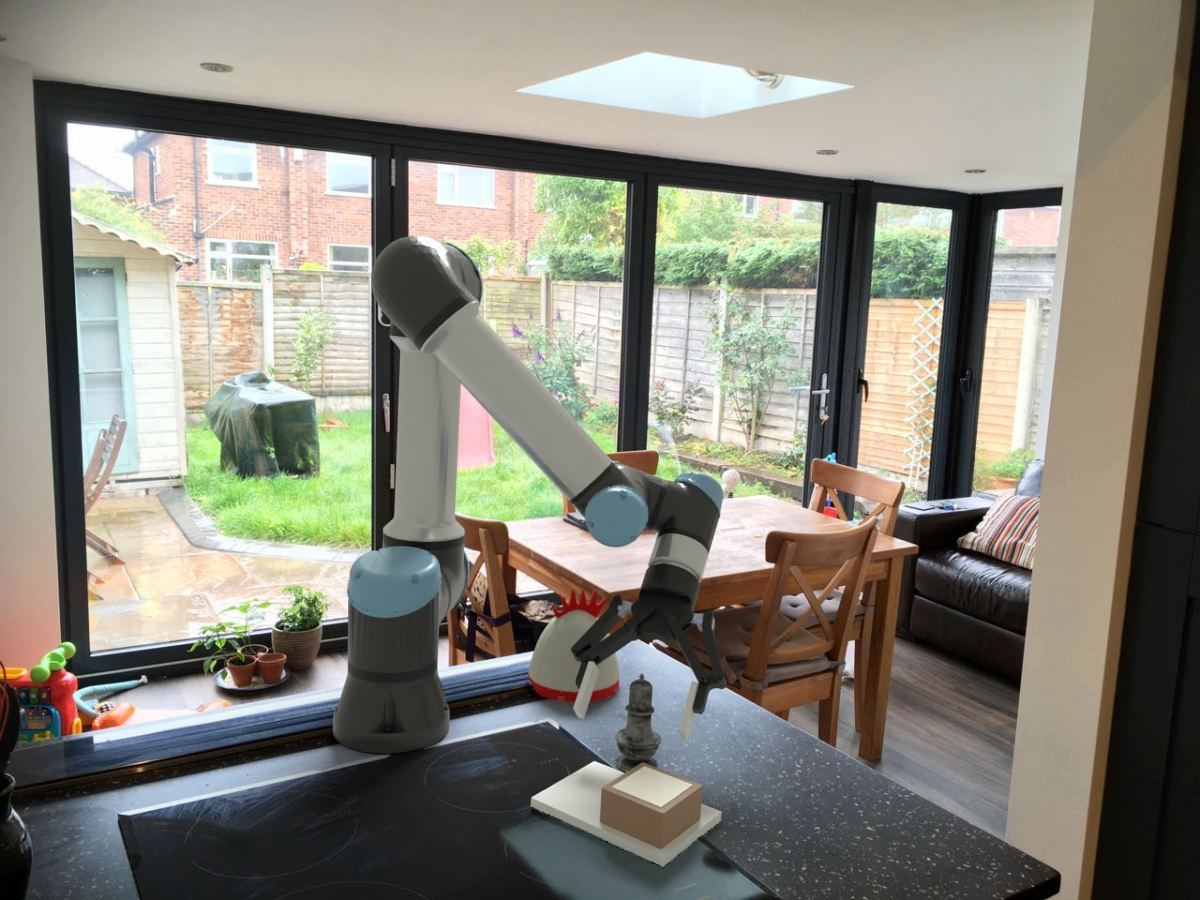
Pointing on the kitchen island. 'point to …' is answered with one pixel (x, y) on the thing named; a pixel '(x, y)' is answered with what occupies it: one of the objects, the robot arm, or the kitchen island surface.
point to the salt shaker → (638, 728)
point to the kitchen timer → (569, 653)
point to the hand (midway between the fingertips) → (629, 725)
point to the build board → (587, 811)
